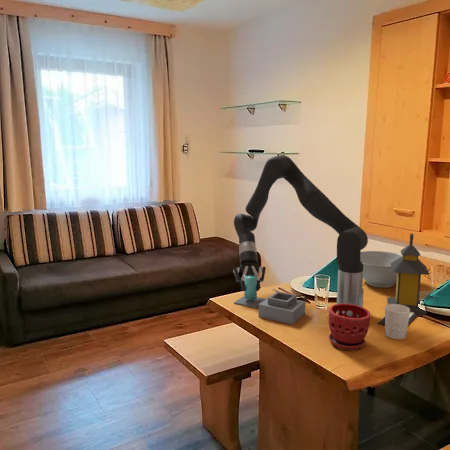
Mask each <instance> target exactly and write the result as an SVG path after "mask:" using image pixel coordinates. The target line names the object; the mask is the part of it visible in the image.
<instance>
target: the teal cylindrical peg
mask: <svg viewBox="0 0 450 450" xmlns="http://www.w3.org/2000/svg"><path fill="white" fill-rule="evenodd" d="M244 282H245V291H243V292H244V293H243V296H244V298H245V299H248V300H253V299H256V298H257V297H258V291H257V276H255V275H246V276H244Z"/></svg>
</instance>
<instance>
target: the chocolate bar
mask: <svg viewBox="0 0 450 450" xmlns="http://www.w3.org/2000/svg"><path fill="white" fill-rule="evenodd" d="M418 316H419V314H418V313H413V312H410V313H409V321H408V326H409V325H410V324H411V323H412V322H413V321H414V320H415V319H416V318H417V317H418ZM377 325H378V326H379V325H380V326H383V327H385V316H384V317H382V319H380V320H379V321H378V322H377Z"/></svg>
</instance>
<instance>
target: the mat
mask: <svg viewBox="0 0 450 450" xmlns="http://www.w3.org/2000/svg"><path fill="white" fill-rule="evenodd" d="M266 299H267V298H261V297H258V296H257V298H256V299H253V300H248V299H245V298H244V295H243V296H242V297H240V298H239V299H237V300H235V301H234V302H233V304H235V305H240V306H244V307H248V308H251V309H257V308H259V304H260V303H261V302H263V301H264V300H266Z"/></svg>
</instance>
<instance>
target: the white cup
mask: <svg viewBox="0 0 450 450" xmlns="http://www.w3.org/2000/svg"><path fill="white" fill-rule="evenodd" d="M409 313H410V309H409V308H408V307H406V306H404V305H400V304H388V303H387V304H386V305H385V306H384V317H385V326H384V330H385V331H384V332H385V333H384V334H385V336H386V337H388V338H390V339H393V340H404V339H406V338H407V331H408V326H409V325H408V321H409Z"/></svg>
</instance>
